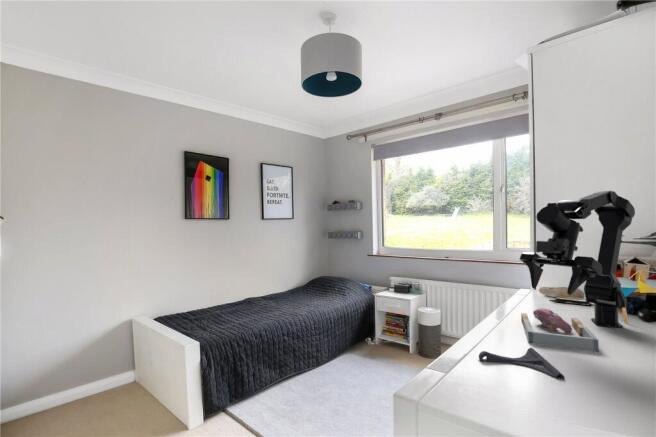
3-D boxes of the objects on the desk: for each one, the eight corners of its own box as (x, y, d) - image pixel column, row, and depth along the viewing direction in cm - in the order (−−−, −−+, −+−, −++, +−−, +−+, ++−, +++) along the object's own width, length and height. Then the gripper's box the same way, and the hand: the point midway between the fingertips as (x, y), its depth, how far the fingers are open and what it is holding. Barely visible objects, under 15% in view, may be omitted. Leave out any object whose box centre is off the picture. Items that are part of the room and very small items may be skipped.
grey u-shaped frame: (524, 330, 98) (524, 320, 98) (587, 337, 91) (586, 327, 91) (528, 343, 88) (528, 331, 88) (598, 351, 81) (598, 339, 82)
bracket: (472, 351, 85) (471, 340, 85) (534, 354, 82) (534, 343, 82) (488, 377, 71) (488, 365, 71) (564, 382, 68) (564, 369, 68)
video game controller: (537, 327, 105) (527, 308, 104) (549, 320, 105) (539, 301, 105) (562, 338, 95) (551, 317, 95) (575, 331, 95) (564, 310, 95)
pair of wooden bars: (521, 320, 107) (521, 313, 107) (577, 326, 101) (577, 318, 101) (524, 330, 98) (524, 321, 98) (586, 337, 92) (586, 328, 92)
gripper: (516, 227, 98) (501, 275, 95) (588, 227, 81) (573, 286, 78) (536, 242, 102) (523, 289, 99) (609, 246, 86) (596, 302, 82)
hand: (550, 291), depth 89 cm, fingers open, 9 cm apart
